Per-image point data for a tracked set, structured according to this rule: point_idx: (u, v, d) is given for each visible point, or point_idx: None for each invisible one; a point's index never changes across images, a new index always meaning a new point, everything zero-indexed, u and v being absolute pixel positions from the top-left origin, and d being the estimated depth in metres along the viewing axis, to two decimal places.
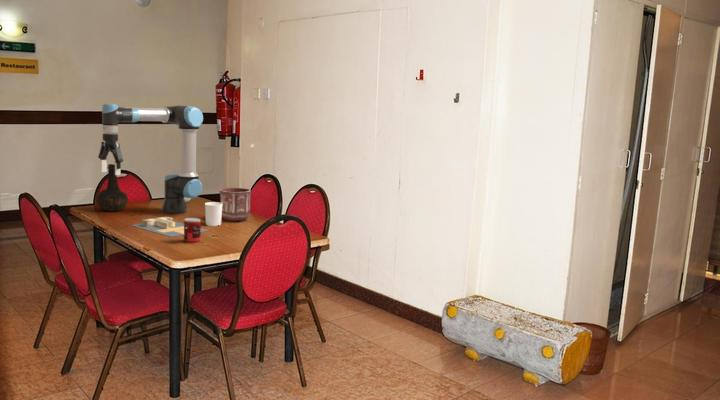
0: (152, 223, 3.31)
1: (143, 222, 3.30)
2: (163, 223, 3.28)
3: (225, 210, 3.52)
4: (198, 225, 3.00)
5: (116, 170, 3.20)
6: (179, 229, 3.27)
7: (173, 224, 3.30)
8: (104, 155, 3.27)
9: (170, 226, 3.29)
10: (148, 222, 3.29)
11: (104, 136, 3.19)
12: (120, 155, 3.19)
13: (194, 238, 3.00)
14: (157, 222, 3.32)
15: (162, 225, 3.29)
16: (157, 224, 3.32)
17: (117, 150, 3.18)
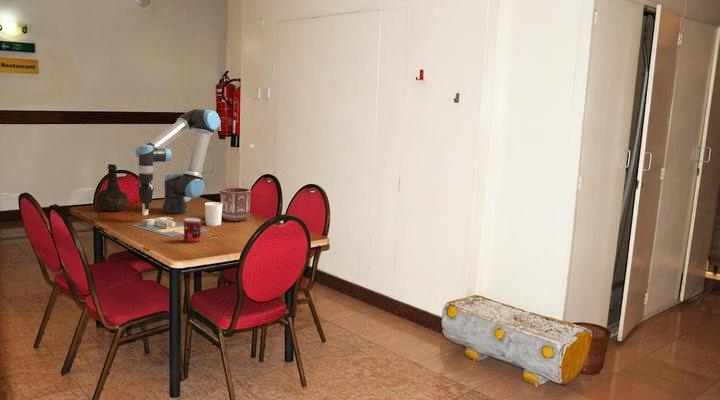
0: (152, 223, 3.31)
1: (143, 222, 3.30)
2: (163, 223, 3.28)
3: (225, 210, 3.52)
4: (198, 225, 3.00)
5: (144, 210, 3.41)
6: (179, 229, 3.27)
7: (173, 224, 3.30)
8: None
9: (170, 226, 3.29)
10: (148, 222, 3.29)
11: (140, 176, 3.36)
12: (150, 197, 3.38)
13: (194, 238, 3.00)
14: (157, 222, 3.32)
15: (162, 225, 3.29)
16: (157, 224, 3.32)
17: (149, 193, 3.37)
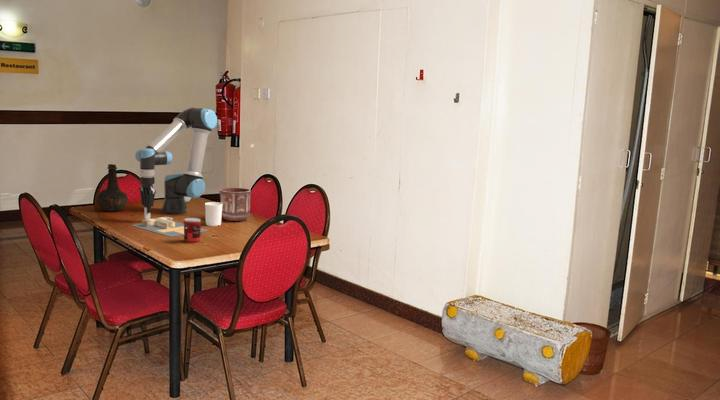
0: (152, 223, 3.31)
1: (143, 222, 3.30)
2: (163, 223, 3.28)
3: (225, 210, 3.52)
4: (198, 225, 3.00)
5: (146, 214, 3.40)
6: (179, 229, 3.27)
7: (173, 224, 3.30)
8: None
9: (170, 226, 3.29)
10: (148, 222, 3.29)
11: (142, 179, 3.35)
12: (152, 201, 3.38)
13: (194, 238, 3.00)
14: (157, 222, 3.32)
15: (162, 225, 3.29)
16: (157, 224, 3.32)
17: (151, 197, 3.36)
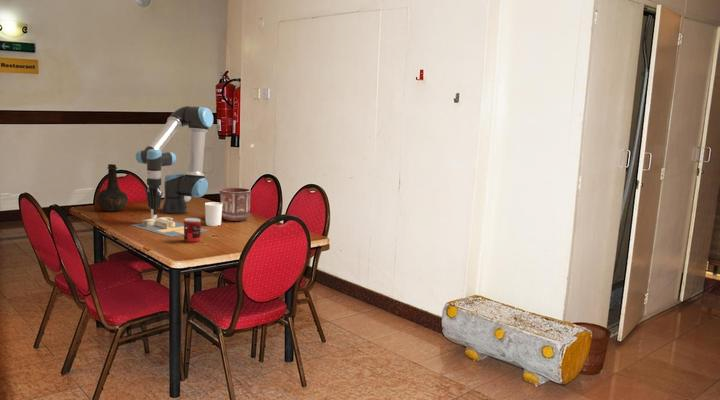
0: (152, 223, 3.31)
1: (143, 222, 3.30)
2: (163, 223, 3.28)
3: (225, 210, 3.52)
4: (198, 225, 3.00)
5: (153, 216, 3.36)
6: (179, 229, 3.27)
7: (173, 224, 3.30)
8: (152, 202, 3.36)
9: (170, 226, 3.28)
10: (148, 222, 3.29)
11: (148, 181, 3.31)
12: (159, 203, 3.34)
13: (194, 238, 3.00)
14: (157, 222, 3.32)
15: (162, 225, 3.29)
16: (157, 224, 3.32)
17: (158, 198, 3.32)
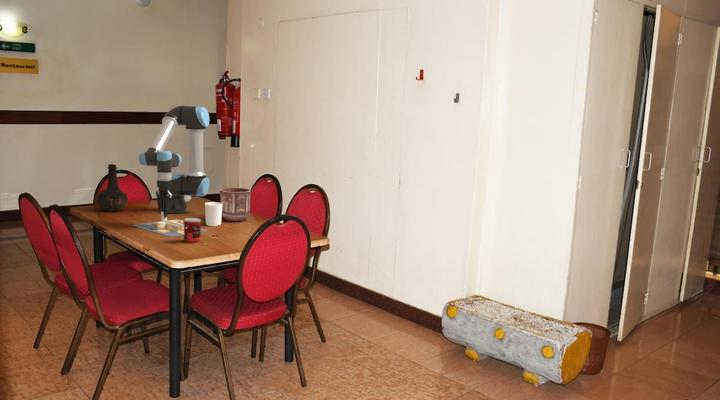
0: (162, 226, 3.25)
1: (153, 225, 3.24)
2: (174, 226, 3.23)
3: (225, 210, 3.52)
4: (198, 225, 3.00)
5: (163, 219, 3.31)
6: None
7: None
8: (162, 204, 3.31)
9: (181, 229, 3.23)
10: (158, 225, 3.23)
11: (159, 183, 3.25)
12: (169, 205, 3.28)
13: (194, 238, 3.00)
14: (167, 225, 3.26)
15: (173, 228, 3.23)
16: (167, 227, 3.26)
17: (168, 200, 3.27)
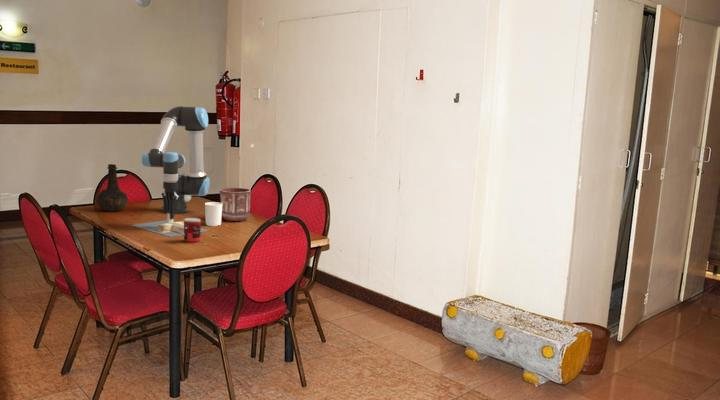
0: (169, 228, 3.22)
1: (159, 227, 3.21)
2: (180, 228, 3.19)
3: (225, 210, 3.52)
4: (198, 225, 3.00)
5: (169, 220, 3.27)
6: None
7: None
8: None
9: None
10: (165, 227, 3.20)
11: (165, 184, 3.22)
12: (175, 207, 3.25)
13: (194, 238, 3.00)
14: (174, 227, 3.23)
15: (179, 230, 3.20)
16: (174, 229, 3.23)
17: (175, 202, 3.23)
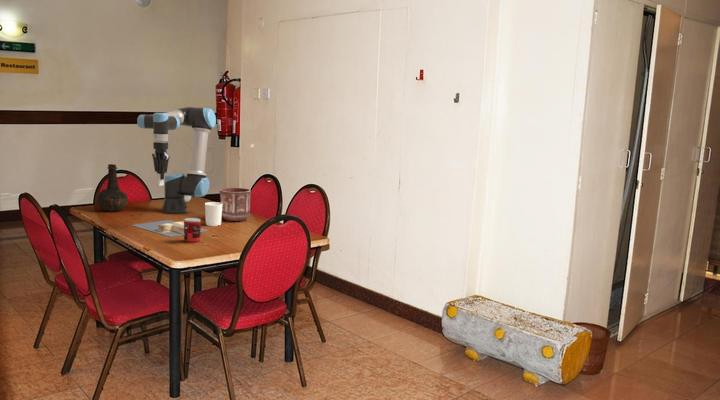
0: (169, 228, 3.21)
1: (160, 227, 3.21)
2: (180, 228, 3.19)
3: (225, 210, 3.52)
4: (198, 225, 3.00)
5: (160, 181, 3.30)
6: None
7: None
8: (159, 166, 3.30)
9: None
10: (165, 227, 3.19)
11: (155, 144, 3.24)
12: (166, 167, 3.27)
13: (194, 238, 3.00)
14: (174, 227, 3.22)
15: (179, 230, 3.20)
16: (174, 229, 3.23)
17: (165, 162, 3.26)
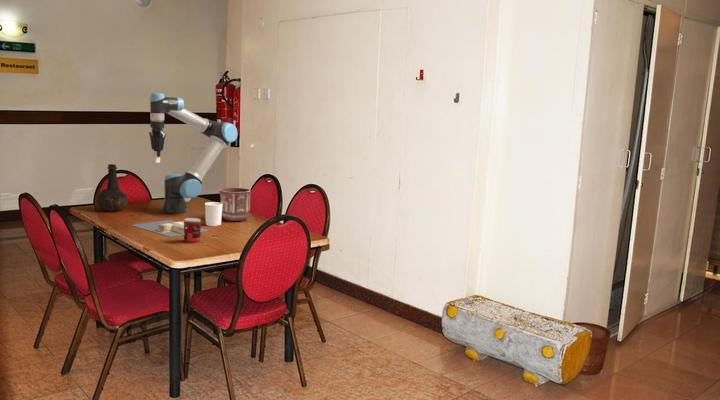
0: (169, 228, 3.21)
1: (160, 227, 3.21)
2: (180, 228, 3.19)
3: (225, 210, 3.52)
4: (198, 225, 3.00)
5: (156, 158, 3.47)
6: None
7: None
8: None
9: None
10: (165, 227, 3.19)
11: (152, 123, 3.41)
12: (162, 145, 3.44)
13: (194, 238, 3.00)
14: (174, 227, 3.22)
15: (179, 230, 3.20)
16: (174, 229, 3.23)
17: (161, 140, 3.43)
